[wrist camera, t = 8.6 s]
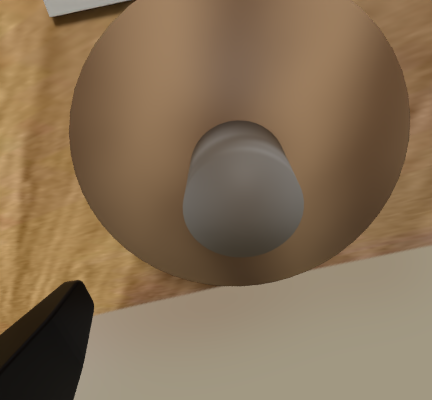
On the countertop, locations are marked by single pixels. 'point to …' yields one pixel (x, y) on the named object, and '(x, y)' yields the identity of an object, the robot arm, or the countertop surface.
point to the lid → (239, 134)
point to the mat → (75, 5)
